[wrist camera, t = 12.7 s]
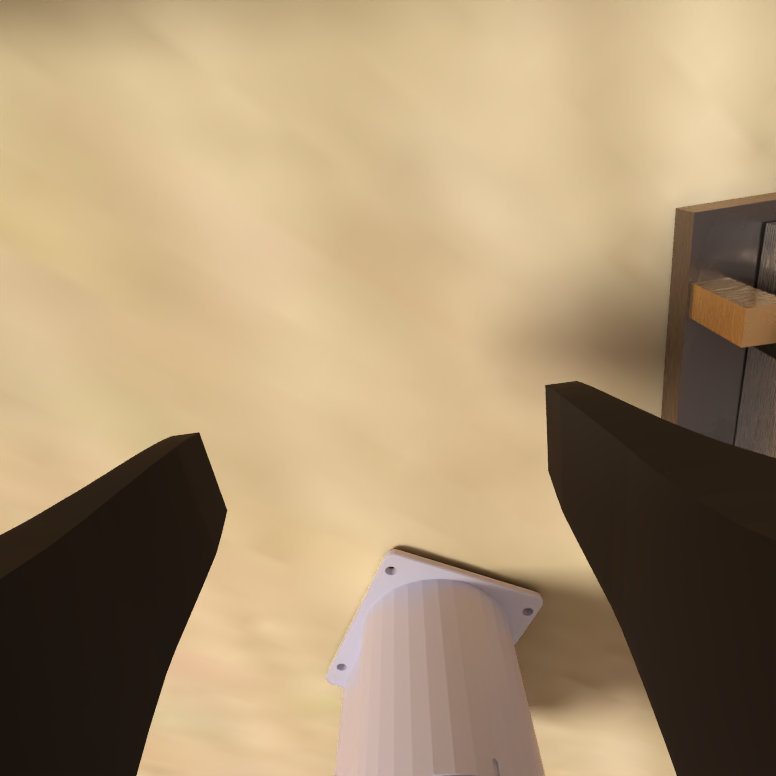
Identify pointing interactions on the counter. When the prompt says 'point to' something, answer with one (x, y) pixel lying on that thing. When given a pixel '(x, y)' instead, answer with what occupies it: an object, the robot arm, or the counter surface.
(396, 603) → the robot arm
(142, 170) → the counter surface
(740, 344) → the grey peg board
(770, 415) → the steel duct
